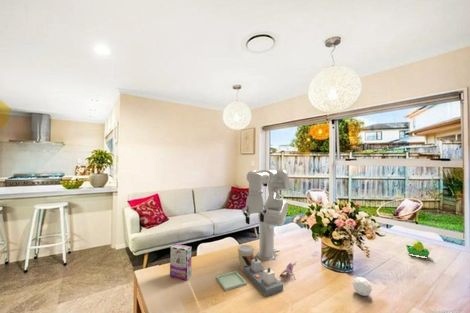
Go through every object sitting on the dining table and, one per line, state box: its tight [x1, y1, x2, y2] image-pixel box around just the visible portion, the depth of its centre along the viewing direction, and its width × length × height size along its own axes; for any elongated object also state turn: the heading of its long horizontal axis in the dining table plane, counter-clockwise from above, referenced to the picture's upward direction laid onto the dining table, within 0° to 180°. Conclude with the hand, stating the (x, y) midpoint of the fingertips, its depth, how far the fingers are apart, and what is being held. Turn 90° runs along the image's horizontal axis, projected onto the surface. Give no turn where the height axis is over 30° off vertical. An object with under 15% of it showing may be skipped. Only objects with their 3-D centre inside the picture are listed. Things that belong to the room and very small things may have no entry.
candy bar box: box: [169, 243, 193, 281], centre depth 113 cm, size 11×5×16 cm, turn 70°
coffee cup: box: [237, 244, 255, 271], centre depth 122 cm, size 9×9×12 cm
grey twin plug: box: [251, 256, 262, 274], centre depth 113 cm, size 4×4×10 cm
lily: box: [280, 261, 297, 279], centre depth 112 cm, size 12×12×10 cm
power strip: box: [243, 265, 284, 297], centre depth 108 cm, size 22×10×4 cm, turn 26°
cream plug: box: [263, 267, 276, 286], centre depth 103 cm, size 4×4×10 cm
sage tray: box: [216, 270, 247, 292], centre depth 108 cm, size 12×12×2 cm
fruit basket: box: [405, 240, 431, 257], centre depth 140 cm, size 11×9×11 cm
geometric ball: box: [352, 276, 373, 297], centre depth 99 cm, size 8×8×8 cm
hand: (254, 222), depth 119 cm, fingers open, 9 cm apart
